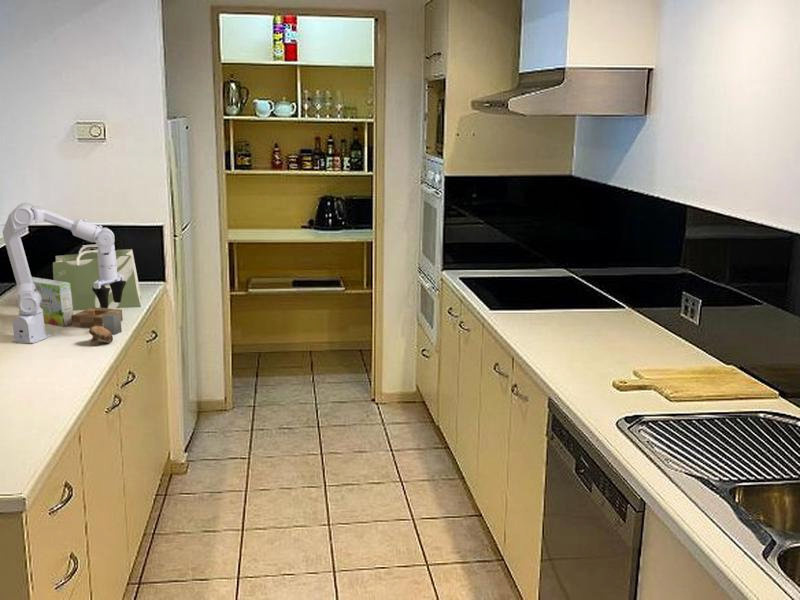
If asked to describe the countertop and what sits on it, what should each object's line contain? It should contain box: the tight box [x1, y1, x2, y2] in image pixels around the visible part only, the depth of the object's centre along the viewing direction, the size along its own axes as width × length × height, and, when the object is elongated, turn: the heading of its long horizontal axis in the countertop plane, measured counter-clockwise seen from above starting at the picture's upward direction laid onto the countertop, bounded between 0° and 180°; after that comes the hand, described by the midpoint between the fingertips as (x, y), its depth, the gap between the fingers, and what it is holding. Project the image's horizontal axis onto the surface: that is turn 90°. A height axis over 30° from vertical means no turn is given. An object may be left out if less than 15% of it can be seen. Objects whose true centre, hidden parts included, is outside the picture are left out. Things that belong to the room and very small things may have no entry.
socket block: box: [71, 307, 124, 329], centre depth 289 cm, size 12×12×4 cm
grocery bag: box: [52, 243, 142, 311], centre depth 313 cm, size 32×14×23 cm, turn 104°
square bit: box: [103, 313, 123, 336], centre depth 278 cm, size 4×4×6 cm
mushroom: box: [88, 326, 114, 346], centre depth 266 cm, size 8×8×6 cm
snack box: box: [31, 276, 74, 328], centre depth 291 cm, size 21×6×15 cm, turn 62°
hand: (111, 305), depth 277 cm, fingers open, 7 cm apart
